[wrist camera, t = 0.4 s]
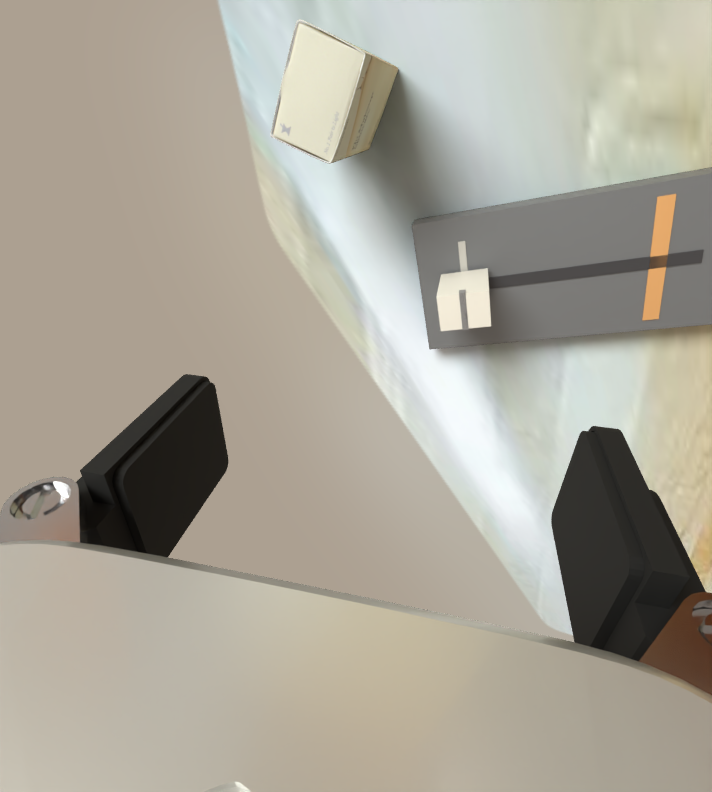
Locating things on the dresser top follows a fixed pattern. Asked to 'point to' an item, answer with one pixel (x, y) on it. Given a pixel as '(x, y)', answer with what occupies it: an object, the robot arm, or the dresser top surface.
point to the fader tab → (464, 300)
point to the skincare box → (330, 95)
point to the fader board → (578, 261)
